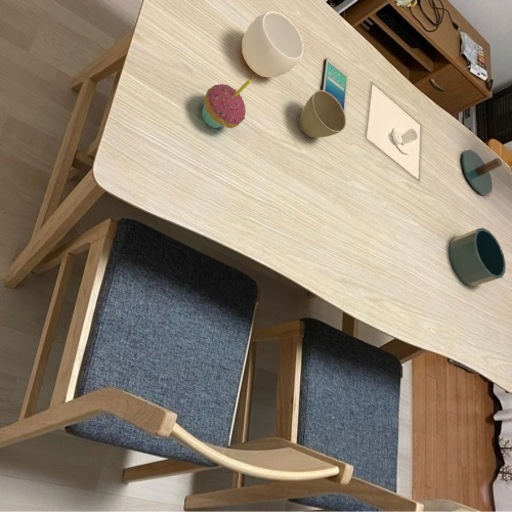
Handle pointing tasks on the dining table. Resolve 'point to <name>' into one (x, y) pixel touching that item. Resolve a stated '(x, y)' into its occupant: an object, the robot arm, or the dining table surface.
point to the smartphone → (335, 81)
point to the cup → (272, 45)
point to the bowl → (477, 257)
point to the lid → (479, 171)
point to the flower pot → (322, 115)
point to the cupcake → (224, 106)
